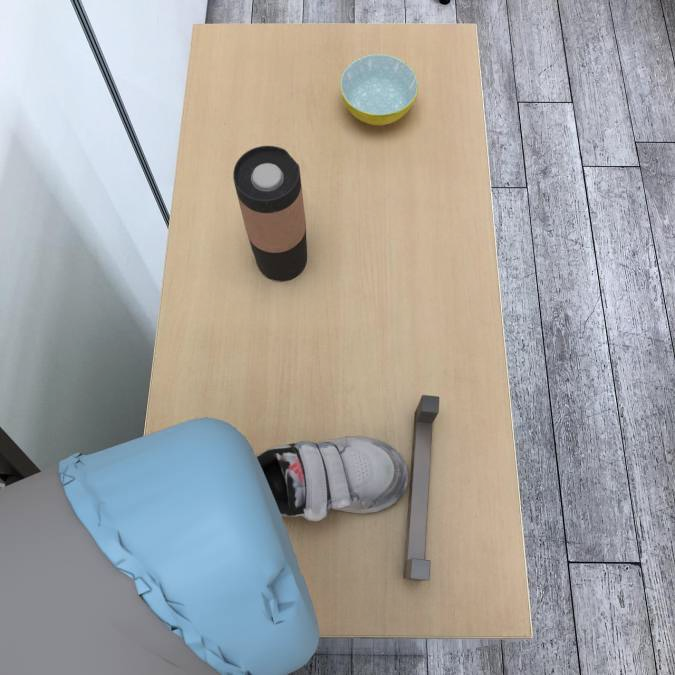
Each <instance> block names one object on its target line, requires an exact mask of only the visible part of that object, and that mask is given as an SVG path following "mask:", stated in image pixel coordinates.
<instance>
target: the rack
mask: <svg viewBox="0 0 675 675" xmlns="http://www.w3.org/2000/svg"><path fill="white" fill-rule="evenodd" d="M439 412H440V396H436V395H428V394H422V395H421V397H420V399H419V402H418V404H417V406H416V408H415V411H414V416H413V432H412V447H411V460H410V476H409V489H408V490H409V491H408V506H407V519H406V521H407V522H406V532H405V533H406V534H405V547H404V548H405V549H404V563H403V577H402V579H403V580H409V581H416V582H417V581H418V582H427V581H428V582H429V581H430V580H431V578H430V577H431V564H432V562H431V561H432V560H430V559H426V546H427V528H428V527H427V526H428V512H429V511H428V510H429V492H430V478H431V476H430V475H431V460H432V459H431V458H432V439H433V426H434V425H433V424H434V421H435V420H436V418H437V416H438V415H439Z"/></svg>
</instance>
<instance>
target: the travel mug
mask: <svg viewBox="0 0 675 675" xmlns="http://www.w3.org/2000/svg"><path fill="white" fill-rule="evenodd" d="M300 168H301V167H300V165H299V163H298V162H296V160H295V159H294V158H293V156H291V155H290V153H289V152H288V151H287V150H286V149H285V148H282V147H280V146H275V145H261V146H256V147H253V148H251V149H249V150H247V151H246V152H244V153H243V154H242V155H241V156H240V157H239V158H238V160H237V161H236V163H235V165H234V168H233V173H232V178H233V183H234V187H235V191H236V192H235V193H236V195H237V200H238V204H239V207H240V208H239V209H240V212H241V216H242V219H243V224H244V228H245V232H246V235H247V238H248V242H249V244H250V247H251V250H252V254H253V256H254V260H255V263H256V265H257V267H258V269H259V271H260V273H261V274H262V275H263V276H265V277H266V278H267V279H269V280H272V281H275V282H287V281H291V280H294V279H295V278H297V277H298V276H299V275H300V274H302V272H303V271H304V269H305V268H306V266H307V262H308V247H307V246H308V244H307V242H308V240H307V221H306V212H305V204H304V203H305V202H304V195H303V194H304V193H303V187H302V186H303V185H302V179H301V178H302V177H301V169H300Z"/></svg>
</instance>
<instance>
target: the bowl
mask: <svg viewBox="0 0 675 675" xmlns="http://www.w3.org/2000/svg"><path fill="white" fill-rule="evenodd" d="M339 90H340V95H341V98H342V102H343V104H344V105H345V108H346V109H347V111H348V112H349V114H351V115H352V116H353V117H354V118H356V119H357V120H359V121H360V122H363V123H365V124H368V125H372V126H384V125H389V124H392V123H394V122H396V121H398V120H400V119H401V118H403V117H404V116H405V115H406V114H407V113H408V112H409V110H411V108H412V107H413V105H414V103H415V101H416V98H417V96H418V92H419V80H418V76H417V74H416V72H415V71H414V69H413V68H412V67H411V65H409V64H408V63H407V62H405V61H404V60H402V59H400V58H398V57H396V56H393V55H390V54H385V53H371V54H366V55H364V56H361V57H358V58H356V59H355V60H352V62H350V63H349V64H348V65H347V66H346V67H345V69H344V70H343V72H342V74H341V76H340V80H339Z"/></svg>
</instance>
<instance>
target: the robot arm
mask: <svg viewBox="0 0 675 675" xmlns="http://www.w3.org/2000/svg"><path fill="white" fill-rule="evenodd" d="M256 456H257V455H256V453H255V451H254V448H253V447H252V445H251V443H250V442H249V440H248V438H246V436H245V435H244V434H242V432H241V431H240V430H239V429H238V428H236V427H235V426H234V425H233V424H231V423H229V422H227V421H225V420H221V419H219V418H215V417H208V416H207V417H201V418H200V417H198V418H192V419H189V420H186V421H183V422H180V423H178V424H175V425H171V426H168V427H166V428H162V429H160V430H158V431H155V432H151V433H148V434H146V435H143V436H140V437H137V438H134V439H132V440H128V441H126V442H123V443H119V444H117V445H114V446H110V447H108V448H105V449H102V450H99V451H96V452H93V453H90V454H88V453H86V452H82V451H81V452H76V453H75V452H74V453H73V454H71V455H70V456H68V457H67V458H65V459H62V460H60V461H59V462H58V464H56V465H54V466H51V467H49V468H46V469H44V470H41V469H40V468H39V467H38V466H37V465H36V463H34V461H32V459H31V458H30V457H29V456H28V455H27V454H26V453H25V452H24V450H22V448H20V446H19V445H18V444H17V443H16V442H15V441H14V439H13V438H11V436H10V435H9V434H8V433H7V432H6V431H5V429H3V428H2V427H1V426H0V484H2V485H4V486H3V487H1V486H0V675H290V674H291V673H293V672H295V671H298V670H299V669H301V668H302V667H304V666H305V665H307V664H308V662H309V661H310V660H311V658H312V657H314V656H313V655H314V654H315V653H316V651H317V649H318V646H319V642H320V627H319V622H318V617H317V614H316V610H315V607H314V603H313V600H312V596H311V595H310V591H309V588H308V585H307V582H306V579H305V577H304V575H303V573H302V571H301V567H300V566H299V565H300V564H299V562H298V558H297V555H296V554H297V553H296V552H295V550H294V547H293V544H292V541H291V538H290V535H289V533H288V530H287V527H286V525H285V522H284V519H283V516H281V514H280V511H279V509H278V506H277V503H276V501H275V499H274V496H273V494H272V491H271V489H270V487H269V484H268V482H267V479H266V477H265V475H264V473H263V470H262V468H261V466H260V463H259V461H258V459H257V457H256Z"/></svg>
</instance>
